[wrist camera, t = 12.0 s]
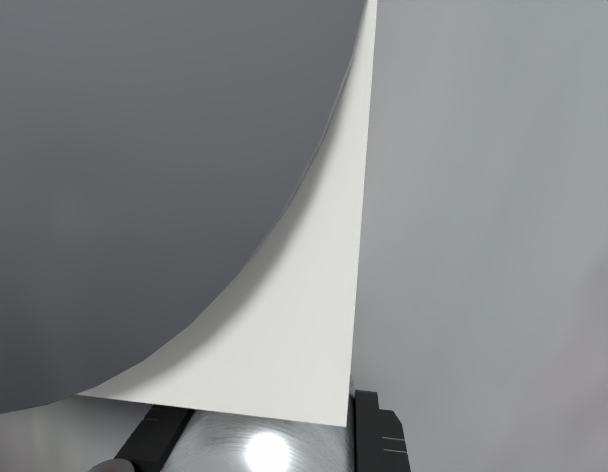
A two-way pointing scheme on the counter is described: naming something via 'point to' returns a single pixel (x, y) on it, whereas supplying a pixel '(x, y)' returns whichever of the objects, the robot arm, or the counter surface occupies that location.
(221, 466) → the cylinder
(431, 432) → the counter surface
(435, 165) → the counter surface
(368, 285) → the counter surface
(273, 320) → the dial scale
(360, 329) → the counter surface
